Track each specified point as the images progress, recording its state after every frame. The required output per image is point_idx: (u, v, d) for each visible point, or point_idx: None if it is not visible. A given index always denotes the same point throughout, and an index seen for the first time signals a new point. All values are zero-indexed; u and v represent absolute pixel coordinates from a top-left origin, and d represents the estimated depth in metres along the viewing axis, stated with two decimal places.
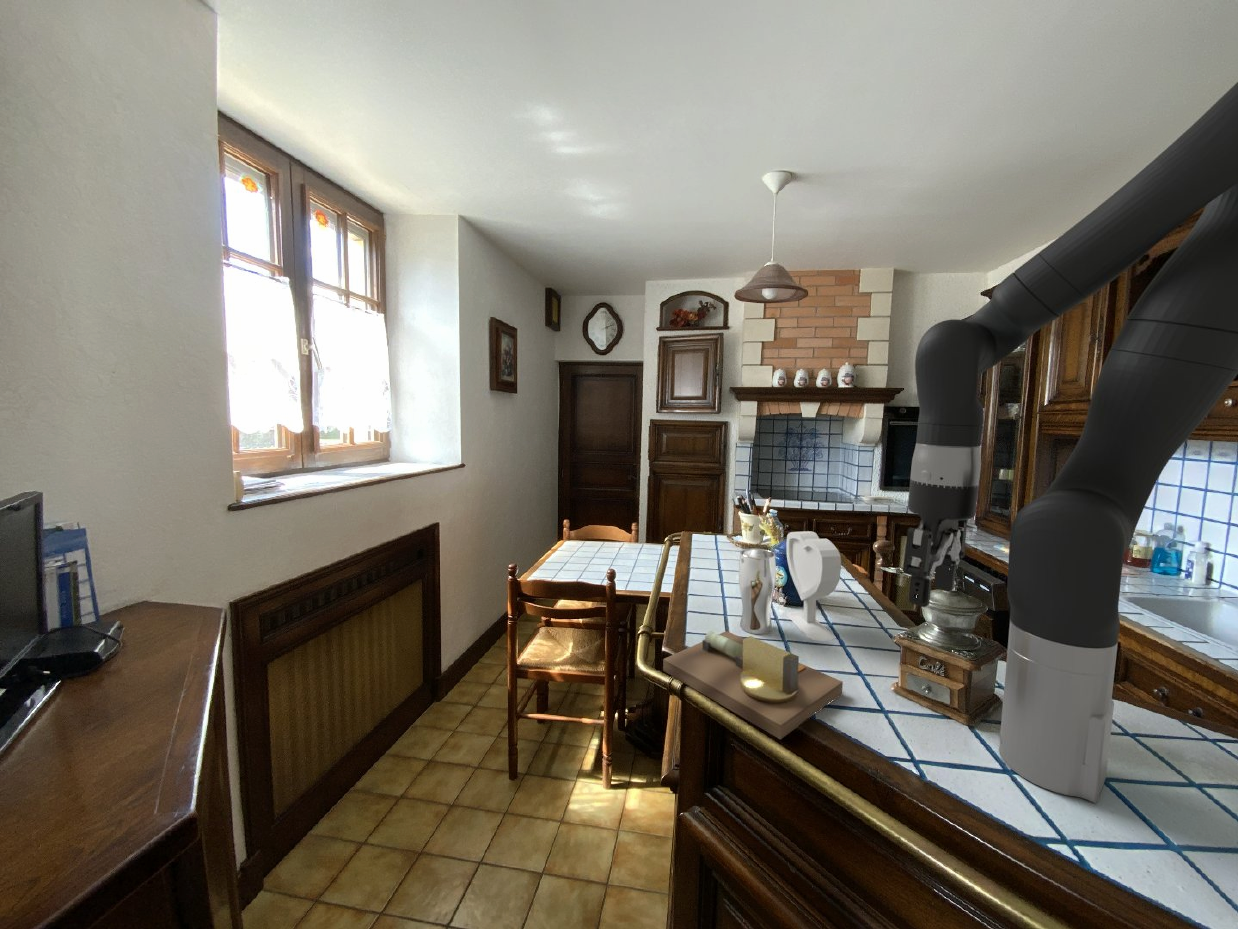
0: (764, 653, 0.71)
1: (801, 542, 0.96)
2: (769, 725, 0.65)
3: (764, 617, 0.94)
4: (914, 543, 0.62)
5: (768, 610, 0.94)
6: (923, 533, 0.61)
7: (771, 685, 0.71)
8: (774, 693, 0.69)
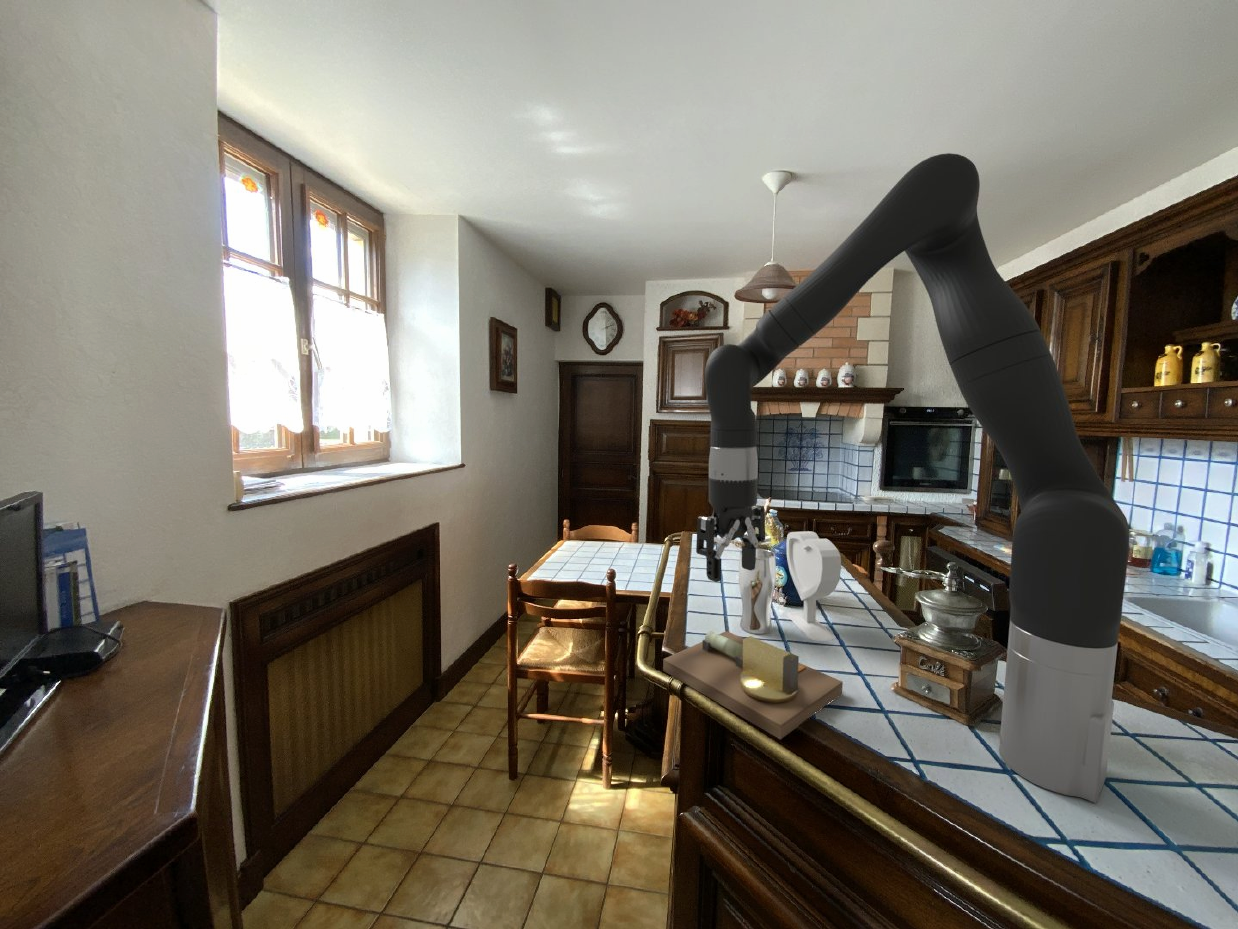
0: (764, 653, 0.71)
1: (801, 542, 0.96)
2: (769, 725, 0.65)
3: (764, 617, 0.94)
4: (702, 528, 0.75)
5: (768, 610, 0.94)
6: (707, 519, 0.74)
7: (771, 685, 0.71)
8: (774, 693, 0.69)
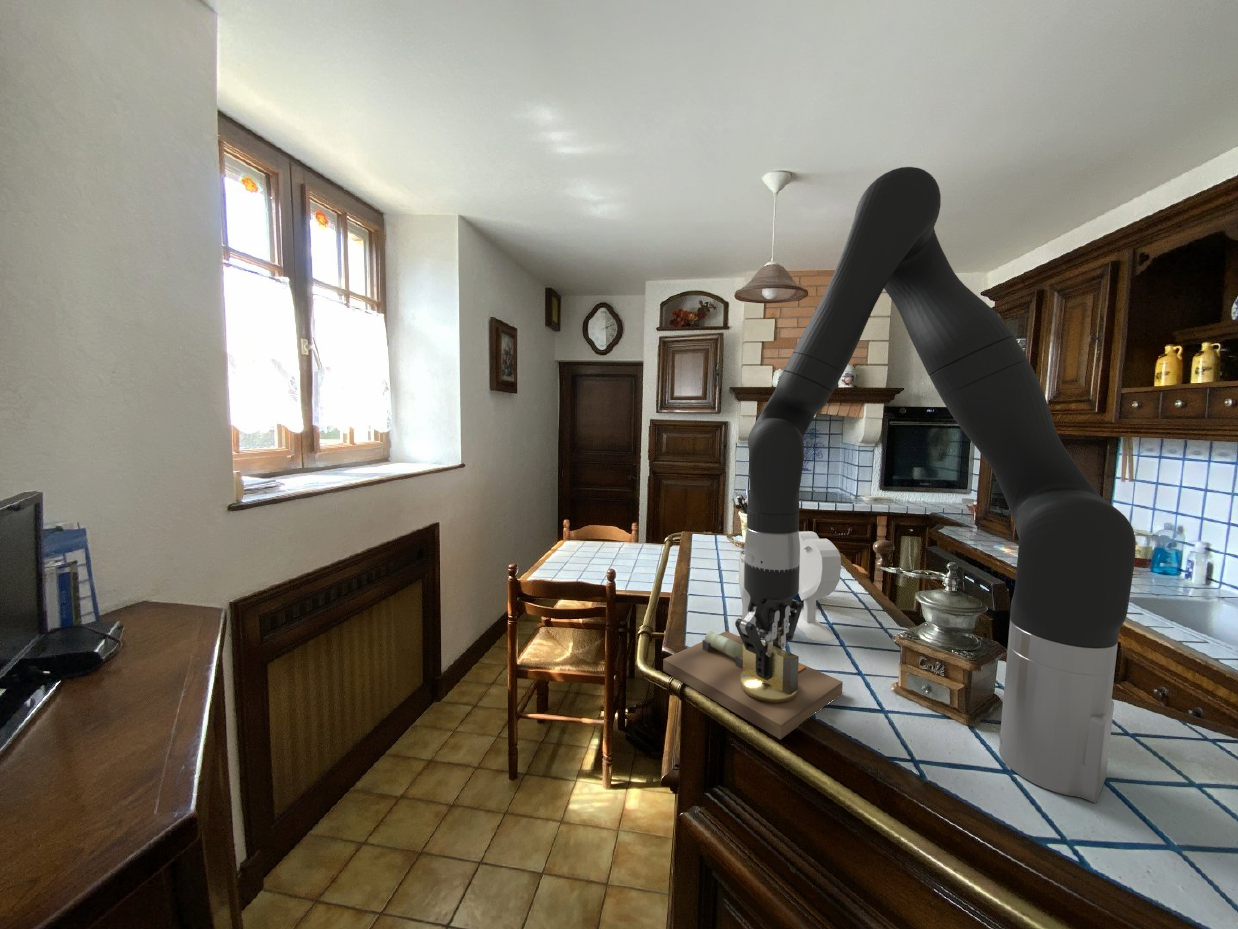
0: None
1: (801, 542, 0.96)
2: (769, 725, 0.65)
3: None
4: (743, 633, 0.68)
5: None
6: (746, 627, 0.67)
7: (771, 685, 0.71)
8: (774, 693, 0.69)
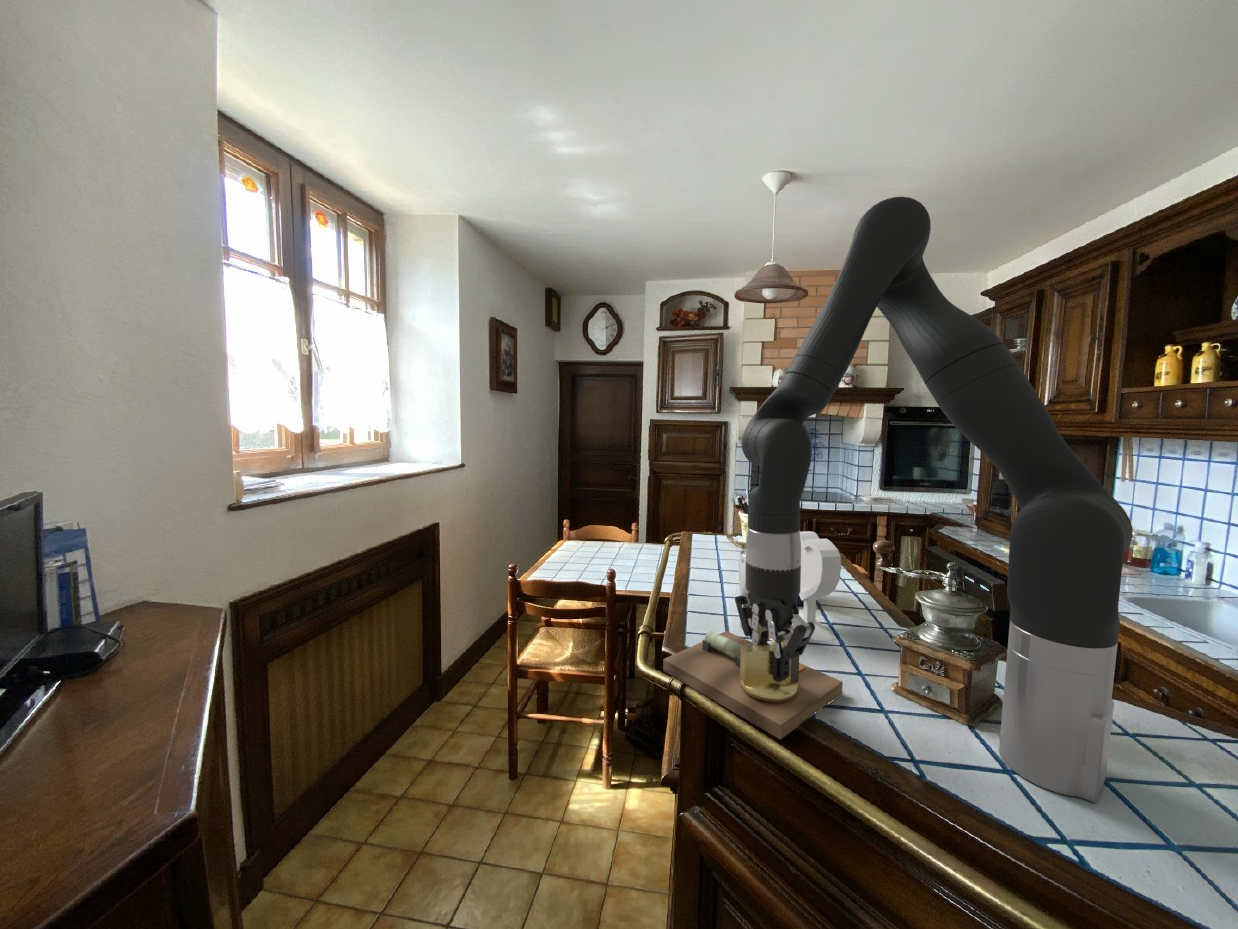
0: (770, 655, 0.71)
1: (801, 542, 0.96)
2: (769, 725, 0.65)
3: None
4: (803, 638, 0.66)
5: None
6: (810, 628, 0.66)
7: (777, 682, 0.71)
8: (792, 687, 0.70)
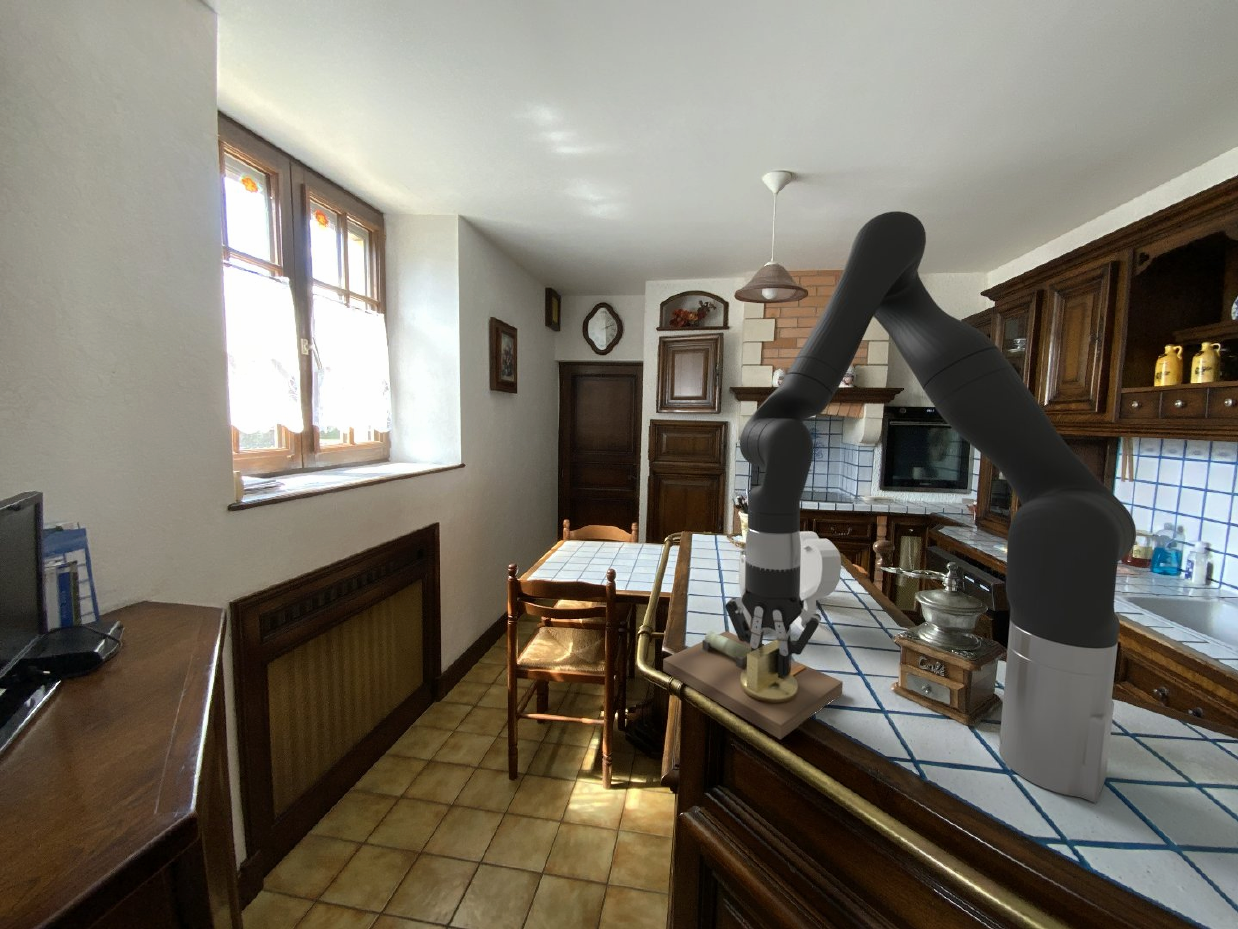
0: (773, 654, 0.71)
1: (801, 542, 0.96)
2: (769, 725, 0.65)
3: None
4: None
5: None
6: (819, 619, 0.68)
7: (777, 680, 0.72)
8: (792, 680, 0.72)
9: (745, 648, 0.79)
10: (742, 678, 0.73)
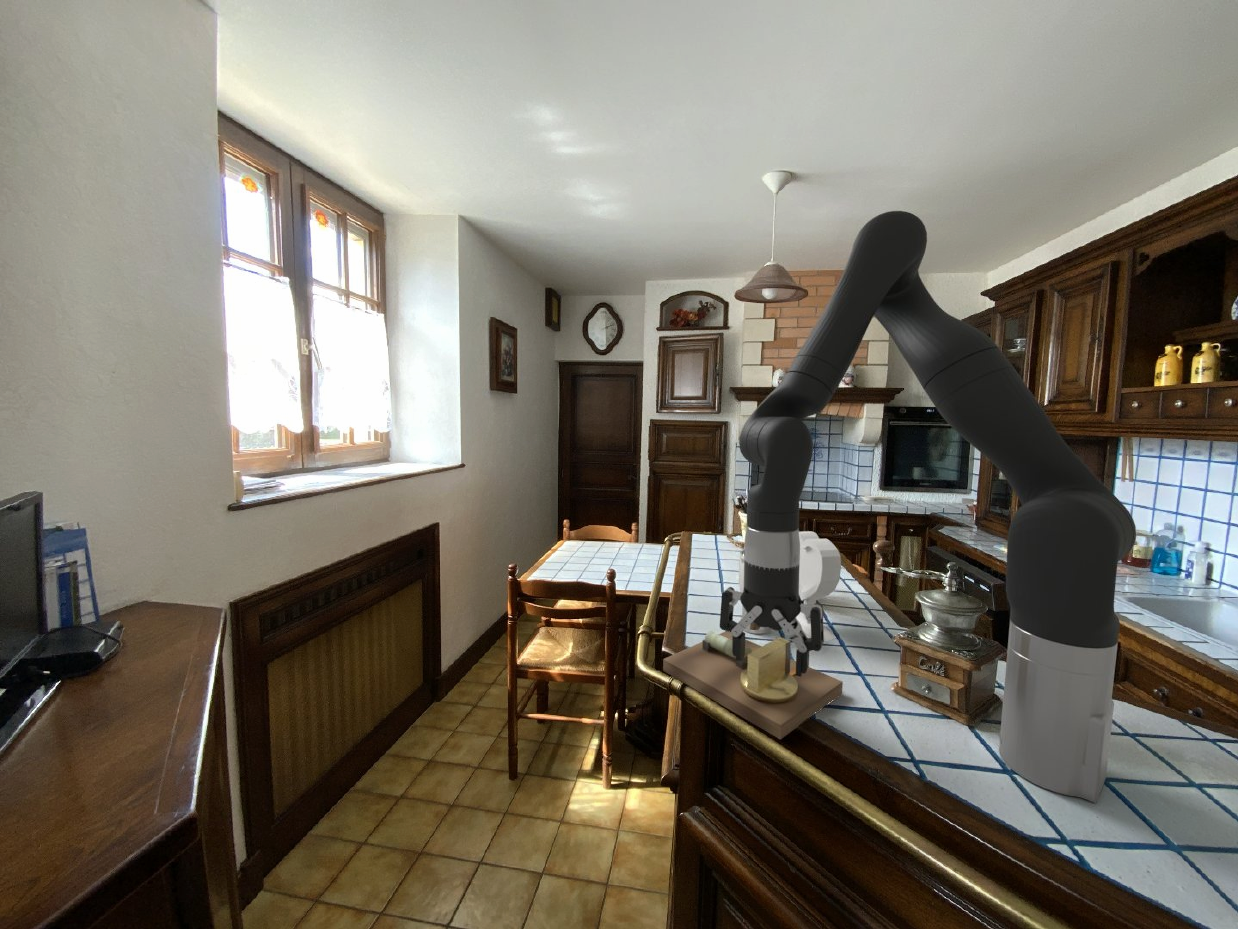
0: (773, 654, 0.71)
1: (801, 542, 0.96)
2: (769, 725, 0.65)
3: None
4: (820, 619, 0.67)
5: None
6: (819, 607, 0.68)
7: (777, 679, 0.72)
8: (792, 680, 0.72)
9: (745, 648, 0.79)
10: (742, 678, 0.73)
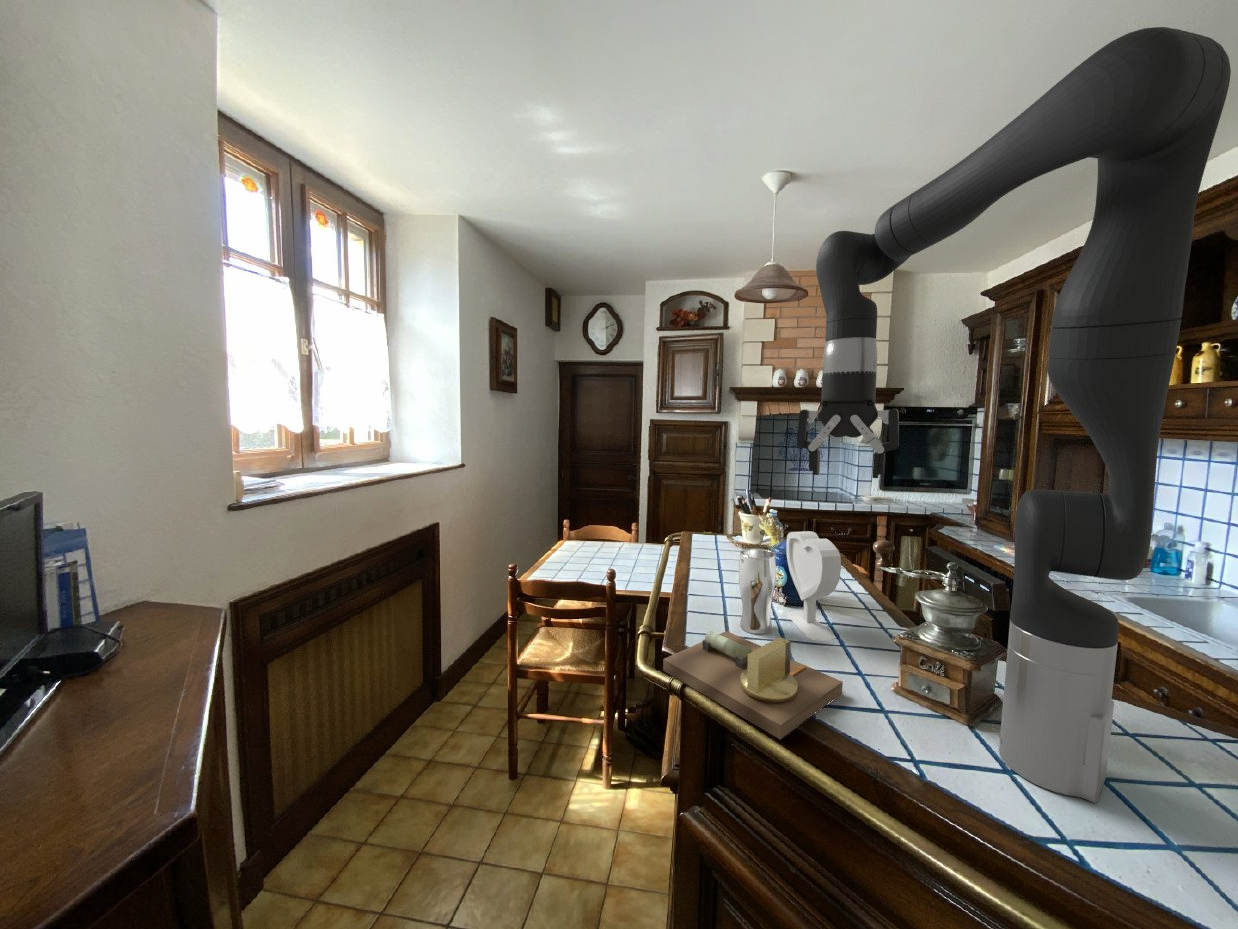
0: (773, 654, 0.71)
1: (801, 542, 0.96)
2: (769, 725, 0.65)
3: (764, 617, 0.94)
4: None
5: (768, 610, 0.94)
6: None
7: (777, 679, 0.72)
8: (792, 680, 0.72)
9: (745, 648, 0.79)
10: (742, 678, 0.73)
